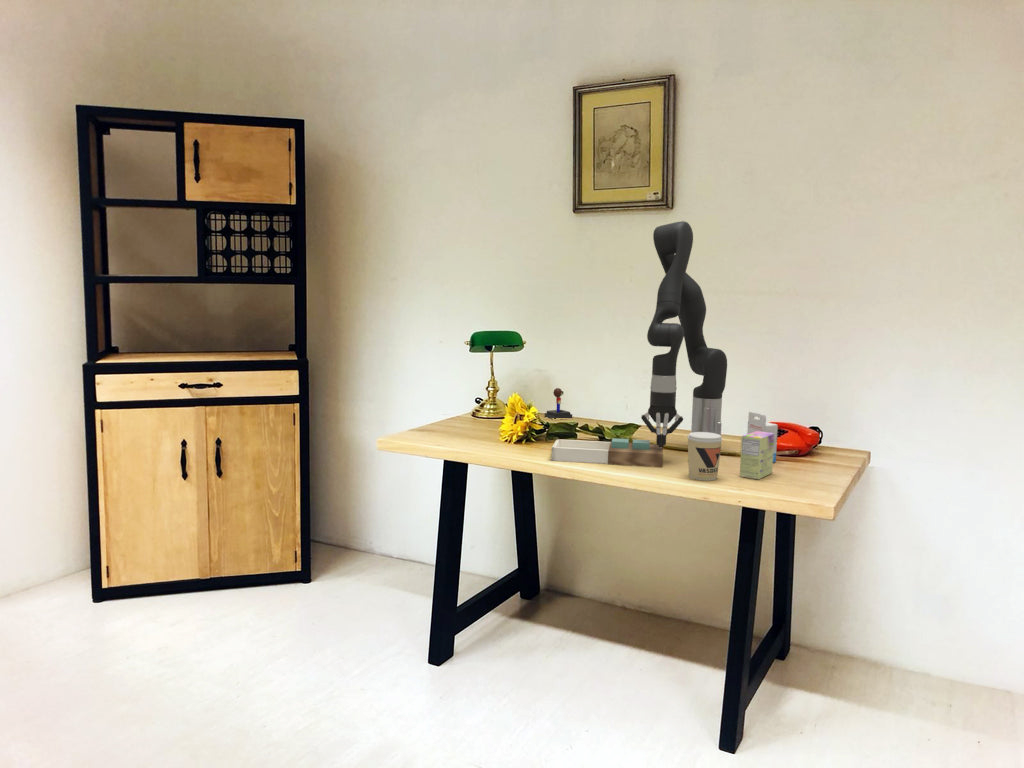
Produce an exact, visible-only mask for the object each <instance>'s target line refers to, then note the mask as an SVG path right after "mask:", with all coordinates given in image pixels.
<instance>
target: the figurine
mask: <svg viewBox="0 0 1024 768" xmlns="http://www.w3.org/2000/svg"><path fill="white" fill-rule="evenodd" d="M552 393H553V396H554V397H556V398H555V400H556V402H555V404H556V409H551V410H550V409H549V410H546V412H545V413H544V418H546V417H548V418H547V419H550V418H554V419H556V418H572V419H573V414H572V413H571V411H568V410H563V409H561V404H562V398H561V397H562V396H563V395H564V391H562V389H561V388H559V387H556V388H555V389H553V392H552Z"/></svg>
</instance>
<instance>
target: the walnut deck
mask: <svg viewBox="0 0 1024 768" xmlns="http://www.w3.org/2000/svg"><path fill="white" fill-rule="evenodd" d="M610 442H611V443H610V446H609V450H608V464H607V465H614V464H617V465H616V466H632V465H636V466H635V467H649V466H654V467H653V468H663V467H664V466H663V465H664V463H663V462H664V446H663V447H659V445H657V444H656V443H650V444H649V450H640V449H632V447H633V442H629V446H628V449H621V448H611V445H612V441H610Z"/></svg>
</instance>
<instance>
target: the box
mask: <svg viewBox="0 0 1024 768" xmlns="http://www.w3.org/2000/svg"><path fill="white" fill-rule="evenodd" d="M740 442H741V443H740V463H739V465H740V466H739V477H741V478H747V479H753V480H761V479H763V478H765V477H766V476H768V475H772V473H773V464H774V462H773V446H774V433H768V432H760V431H755V432H752V433H749V434H747V433H746V434H743V435H741V441H740Z"/></svg>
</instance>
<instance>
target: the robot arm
mask: <svg viewBox="0 0 1024 768" xmlns="http://www.w3.org/2000/svg"><path fill="white" fill-rule="evenodd" d="M652 237H653V238H652V239H653V244H654V245H653V246H654V248H655V251H656V254H657V257H658V258H659V261H660V263H661V267H662V269H663V272H664V273H665V274H664V276H663V278H662V280H661V282H660V284H659V286H658V290H657V297H656V305H655V312H654V315H653V318H652V320H651V321H650V322H651V323H650V325H649V327H648V329H647V333H646V334H647V335H646V337H647V341H648V343H649V344H650V345H651V346H652V347H664V348H665V347H667V348H670V349H669V351H668V352H666V353H661V354H656V355H654V356H653V358H652V362H651V363H652V368H651V369H652V371H651V380H650V386H649V388H650V395H649V398H650V399H649V408H648V409H647V412H646V413H644V414H641V415H640V416H641V418H640V419H641V420H642V422H643V423H644V424H645V425H646V427H647V428H648V429H649V431H650V432H651V433H654V434H656V441H655V444H657V445H659V447H663V448H664V446H666V445H667V435H668V434H669V435H670V434H673V433H674V431H675V430H676V429H677V427H679V425H681V423H683V421H684V417H683V416H681V415H680V414H679V413H678V411H677V409H676V402H677V401H676V400H677V398H676V397H677V361H678V356H679V352H680V349H681V346H682V344H683V340H684V343H685V348H686V349H685V350H686V354H687V360H688V364H689V367H690V370H691V371H692V372H693V373H694V374H696V375H699V376H703V377H702V378H703V379H702V383H701V384H700V385H698V386H696V387H694V388H693V390H692V407H691V408H692V410H691V429H690V430H691V431H690V433H692V432H710V433H716V434H719V435H721V436H722V404H723V394H724V390H725V388H726V381H727V372H728V371H727V370H728V358H727V355H726V353H725V352H724V351H723V350H722V349H720V348H715V347H714V348H712V347H708V346H707V343H706V340H705V336H704V328H703V327H704V323H705V318H706V315H707V305H706V301H705V298H704V297H705V296H704V294H703V291H702V289H701V286H700V285H699V284H698V282H696V280H695V279H694V278H692V277H691V275H689V274H688V273H687V269H688V265H689V260H690V257H691V253H692V250H693V249H692V248H693V244H694V232H693V229H692V226H691V225H690V224H689V222H687V221H684V220H683V221H682V220H681V221H674V222H671V223H666V224H662V225H659V226H656V227H655V228H654V229H653V236H652ZM677 317H678V320H679V323H674V322H672V323H669V322H665V321H666V320H668V319H669V320H670V319H673V318H674V319H675V318H677ZM650 419H652V422H654V423H656V425H655V426H656V428H655V427H654V425H653V424H652V423H651V421H650ZM673 419H674V422H673V423H671V421H673ZM669 423H671V426H669V428H668V424H669ZM661 424H662V426H661ZM661 427H662V429H661ZM661 430H662V431H661Z"/></svg>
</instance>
